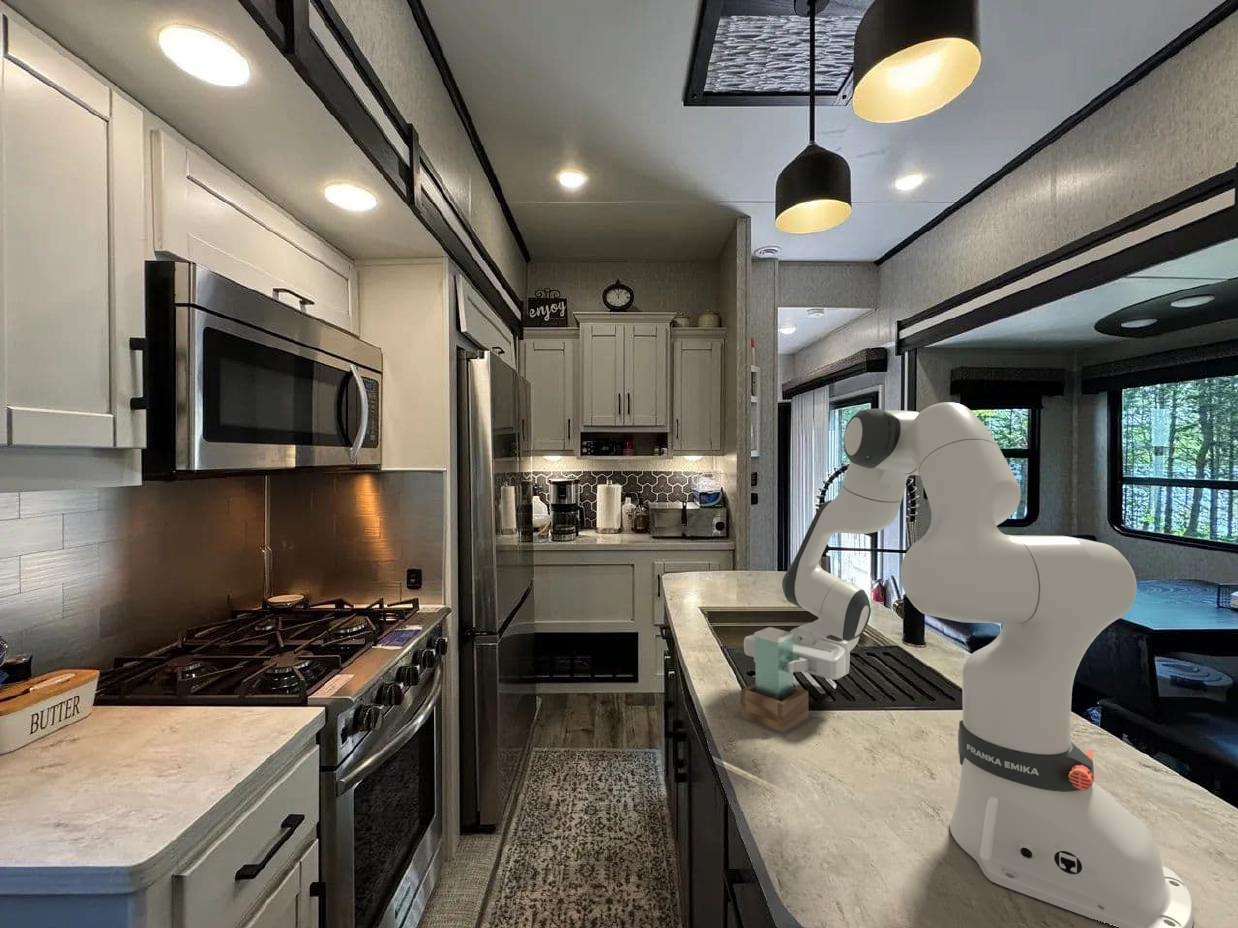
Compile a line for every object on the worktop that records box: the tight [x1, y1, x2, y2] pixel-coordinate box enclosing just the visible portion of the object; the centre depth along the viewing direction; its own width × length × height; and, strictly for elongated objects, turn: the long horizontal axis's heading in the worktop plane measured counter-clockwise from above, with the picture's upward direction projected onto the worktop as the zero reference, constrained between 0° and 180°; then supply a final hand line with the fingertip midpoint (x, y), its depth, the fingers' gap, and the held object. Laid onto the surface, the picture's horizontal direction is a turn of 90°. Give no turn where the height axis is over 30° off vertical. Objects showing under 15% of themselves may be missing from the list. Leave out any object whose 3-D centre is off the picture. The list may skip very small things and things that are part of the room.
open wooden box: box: [740, 682, 810, 732], centre depth 105 cm, size 9×9×5 cm
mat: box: [733, 712, 817, 737], centre depth 105 cm, size 11×11×1 cm
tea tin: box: [753, 626, 794, 701], centre depth 105 cm, size 5×5×12 cm
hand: (771, 663), depth 104 cm, fingers closed on tea tin, 5 cm apart
